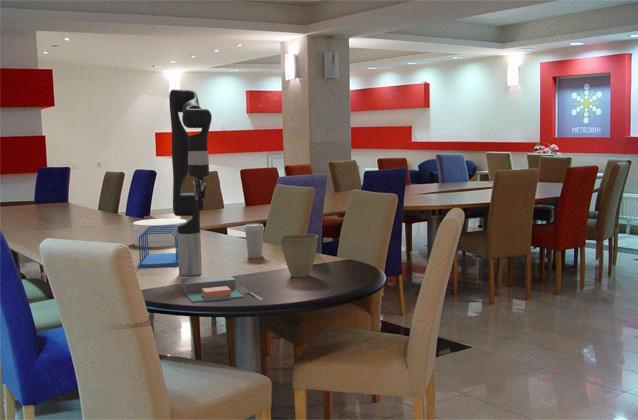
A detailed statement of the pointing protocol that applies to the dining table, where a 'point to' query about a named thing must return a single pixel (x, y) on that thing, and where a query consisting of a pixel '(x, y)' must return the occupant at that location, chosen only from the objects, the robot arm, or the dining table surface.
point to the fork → (248, 292)
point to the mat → (199, 298)
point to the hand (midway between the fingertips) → (200, 210)
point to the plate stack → (156, 239)
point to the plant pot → (299, 253)
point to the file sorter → (158, 259)
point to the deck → (206, 283)
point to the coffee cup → (254, 239)
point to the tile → (216, 292)
